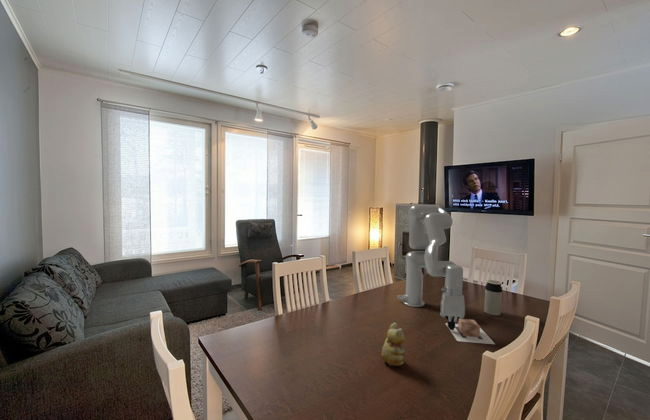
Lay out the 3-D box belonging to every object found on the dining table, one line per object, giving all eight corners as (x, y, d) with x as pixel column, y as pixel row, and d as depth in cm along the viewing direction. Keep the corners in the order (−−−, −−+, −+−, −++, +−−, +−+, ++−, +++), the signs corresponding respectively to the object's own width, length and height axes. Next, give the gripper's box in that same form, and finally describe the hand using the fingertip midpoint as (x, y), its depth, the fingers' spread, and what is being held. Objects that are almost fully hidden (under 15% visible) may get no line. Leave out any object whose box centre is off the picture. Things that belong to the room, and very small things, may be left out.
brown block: (463, 335, 130) (463, 325, 130) (458, 328, 137) (458, 318, 137) (479, 337, 129) (479, 326, 129) (473, 329, 136) (473, 319, 136)
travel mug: (502, 317, 153) (504, 284, 152) (485, 314, 156) (487, 282, 155) (498, 311, 160) (500, 280, 159) (482, 309, 163) (484, 278, 162)
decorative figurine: (408, 368, 105) (409, 329, 104) (388, 372, 102) (390, 332, 101) (394, 354, 114) (396, 318, 113) (376, 357, 111) (377, 320, 111)
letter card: (457, 341, 125) (457, 340, 125) (445, 323, 143) (445, 322, 143) (495, 345, 123) (495, 344, 123) (478, 326, 141) (478, 325, 141)
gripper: (438, 292, 130) (436, 331, 131) (472, 295, 128) (470, 334, 129) (434, 287, 138) (432, 324, 138) (466, 289, 136) (464, 326, 137)
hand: (451, 328), depth 134 cm, fingers closed
